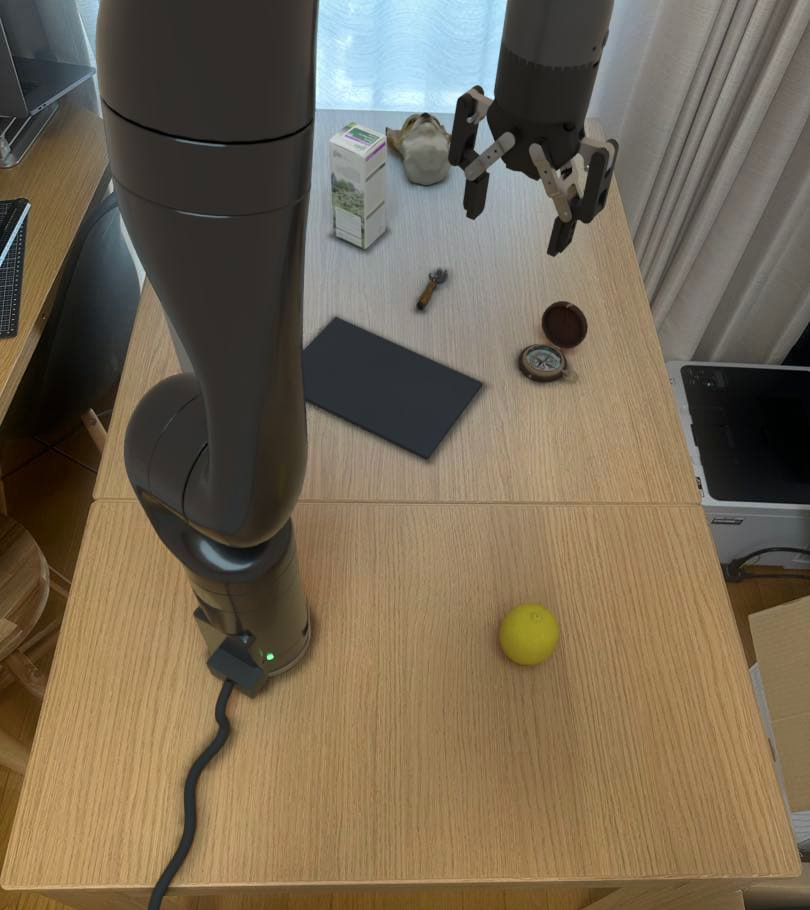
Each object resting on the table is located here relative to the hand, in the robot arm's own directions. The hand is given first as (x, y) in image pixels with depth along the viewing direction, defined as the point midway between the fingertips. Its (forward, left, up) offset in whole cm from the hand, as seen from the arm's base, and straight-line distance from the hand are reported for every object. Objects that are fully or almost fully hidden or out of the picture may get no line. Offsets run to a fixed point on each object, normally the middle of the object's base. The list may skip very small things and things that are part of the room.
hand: (514, 233), depth 68 cm
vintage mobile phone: (-14, +28, -26) cm, 41 cm away
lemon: (-24, -18, -26) cm, 40 cm away
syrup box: (+23, +31, -26) cm, 47 cm away
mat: (-1, +13, -26) cm, 30 cm away
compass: (+14, -4, -27) cm, 30 cm away
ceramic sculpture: (+43, +32, -26) cm, 60 cm away
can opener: (+18, +16, -26) cm, 36 cm away
